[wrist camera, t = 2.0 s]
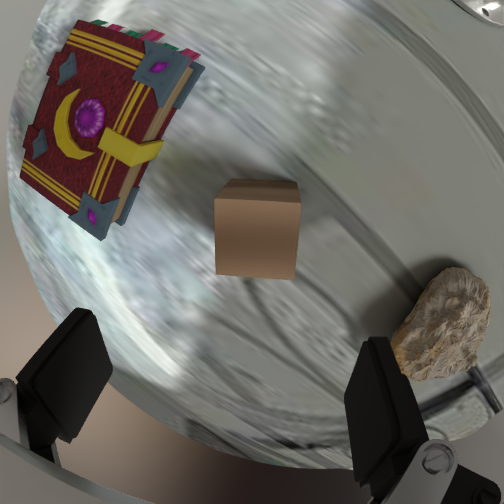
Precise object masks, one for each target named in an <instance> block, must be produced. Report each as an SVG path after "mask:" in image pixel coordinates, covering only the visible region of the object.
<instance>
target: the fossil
mask: <svg viewBox="0 0 504 504" xmlns="http://www.w3.org/2000/svg"><path fill="white" fill-rule="evenodd" d="M490 318H491V308H490V296H489V291H488V287H487V286H486V284H485V283H484V281H483V280H482V279H481V278H478V277H476V276H474V275H472V274H471V273H470V272H469V271H467V270H466V269H464V268H457V267H451V268H446V269H445V270H444V271H441V272H440V274H439V275H437V276H436V277H435V278H433V279H431V280H430V282H429V283H428V285H427V286H426V288H425V289H424V291H423V292H422V294H421V295H420V296H419V299H418V301H417V303H416V305H415V307H414V308H413V310H412V312H411V313H410V314H409V315H408V316H407V317H406V319H405V320H404V321H403V323H402V324H401V326H400V327H399V328H398V329H397V330H396V331H395V332H394V333H393V335H392V339H391V342H390V345H391V347H392V350H393V352H394V355H395V357H396V360H397V363H398V365H399V368H400V370H401V373H402V374H405V375H406V376H407V377H408V378H410V379H412V380H414V381H423V380H428V379H432V378H445V377H447V376H449V375H452V374H455V373H456V372H457V371H459V370H460V371H467V370H468V369H469V368H470V366H475V365H476V363H477V361H478V359H477V356H476V355H475V354H476V352H477V350H478V348H479V346H480V344H481V342H482V341H483V338H484V335H485V331H486V328H487V327H488V324H489V321H490Z"/></svg>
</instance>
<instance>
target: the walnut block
mask: <svg viewBox="0 0 504 504" xmlns="http://www.w3.org/2000/svg"><path fill="white" fill-rule="evenodd" d="M300 214H301V199H300V194H299V190H298V185H297V183H296V182H281V181H264V180H243V179H231V180H230V181H229V182H228V183H227V184H226V186H225V187H224V188H223V189H222V190H221V191H220V192H219V193H218V195H217V196H216V197H215V198H214V226H215V265H216V274H217V275H229V276H242V277H255V278H269V279H283V280H294V276H295V266H296V257H297V247H298V236H299V226H300Z"/></svg>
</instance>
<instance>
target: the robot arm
mask: <svg viewBox="0 0 504 504" xmlns="http://www.w3.org/2000/svg"><path fill="white" fill-rule="evenodd" d="M453 1H455V2H456V3H457V4H458V5H460V6H461V7H462V8H463V9H464V10H466V11H467V12H469V13H470V14H471V15H473V16H474V17H476V18H478V19H480V20H481V21H483V22H485V23H488V24H490V25H493V26H498V27H504V0H453ZM112 371H113V366H112V363H111V361H110V358H109V355H108V352H107V350H106V347H105V344H104V341H103V338H102V335H101V332H100V328H99V325H98V322H97V319H96V316H95V315H93V313H92V311H91V310H88V309H83V308H79V307H78V308H75V309H74V310H73V311H72V312H71V313H70V314H69V316H68V317H67V318H66V319H65V320H64V321H63V322H62V323H61V324H60V325H59V326H58V328H57V329H56V330H55V331H54V332H53V333H52V335H51V336H50V337H49V338H48V339H47V340H46V341H45V342H44V344H43V345H42V346H41V347H40V348H39V349H38V351H37V352H36V353H35V354H34V355H33V357H32V358H31V359H30V360H29V362H28V363H27V364H26V365H25V366H24V368H23V369H22V370H21V371H20V372H19V374H18V375H17V376H16V379H17V381H18V383H17V385H16V384H15V383H14V381H12V380H11V379H8V378H1V379H0V504H155V503H151V502H148V501H144V500H141V499H138V498H135V497H132V496H129V495H126V494H123V493H120V492H117V491H115V490H112V489H109V488H107V487H104V486H102V485H99V484H96V483H94V482H92V481H89V480H87V479H85V478H83V477H80V476H78V475H76V474H74V473H72V472H70V471H68V470H66V469H64V468H62V467H61V464H60V460H59V456H58V452H57V447H56V443H55V440H56V438H57V437H58V438H59V439H61V440H63V441H65V442H67V443H69V444H70V443H71V441H72V439H73V438H76V437H77V435H78V433H79V432H80V430H81V428H82V426H83V424H84V422H85V421H86V419H87V417H88V415H89V413H90V411H91V409H92V408H93V406H94V404H95V402H96V401H97V399H98V397H99V395H100V394H101V392H102V390H103V388H104V386H105V385H106V383H107V381H108V380H109V378H110V376H111V374H112ZM344 404H345V410H346V417H347V423H348V431H349V438H350V445H351V453H352V462H353V470H354V478H355V481H356V482H360V488H361V489H362V488H369V487H370V489H371V496H373V497H372V498H371V499H370V501H369V502H368V503H367V504H504V503H501V502H500V501H501V492H500V489H499V487H498V485H497V484H496V483H494V482H493V481H491V480H489V479H487V478H485V477H483V476H480V475H479V474H477V473H475V472H472V471H471V470H469V469H467V468H465V467H463V466H461V465H459V464H458V454H457V451H456V449H455V448H454V447H453V446H452V444H450V443H449V442H447V441H445V440H442V439H432V440H429V437H428V434H427V431H426V428H425V425H424V422H423V419H422V416H421V413H420V410H419V407H418V404H417V401H416V399H415V396H414V393H413V390H412V388H411V385H410V382H409V380H408V378H407V376H406V375H405V374H402V373H401V370H400V368H399V365H398V363H397V360H396V357H395V355H394V352H393V350H392V347H391V345H390V342H389V340H388V338H387V337H370V338H369V339H368V341H364V342H363V344H362V347H361V350H360V353H359V356H358V358H357V361H356V364H355V367H354V370H353V372H352V375H351V378H350V380H349V383H348V386H347V388H346V391H345V394H344Z"/></svg>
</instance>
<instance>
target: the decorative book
mask: <svg viewBox="0 0 504 504" xmlns="http://www.w3.org/2000/svg"><path fill="white" fill-rule="evenodd" d="M106 23H108V22H105V21H101V20H95V21H92V22H90V23H89V22H86V21H82V20H78V21H77V22H76V24H75V26H74V28H73V30H72V31H71V33H70V35H69V37H68V39H67V41H66V43H65V45H64V47H63V49H62V51H61V52H56V54H55V56H54V58H53V60H52V62H51V65H50V67H49V69H48V72H47V74H46V75H48V76H50V78H49V80H48V83H47V85H46V88H45V90H44V93H43V96H42V98H41V101H40V104H39V107H38V110H37V113H36V116H35V119H34V122H33V124H32V125H28V128H27V131H26V135H25V139H24V143H23V146H22V147H23V148H25V149H26V151H25V155H24V159H23V163H22V168H21V173H20V178H21V179H22V180H23V181H25V182H26V183H27V184H28V185H30V186H31V187H32V188H33V189H35V190H36V191H37V192H39V193H40V194H41V195H43V196H44V197H45V198H47V199H48V200H49V201H51V202H52V203H53V204H55V205H56V206H57V207H59V208H60V209H61V210H63V211H64V212H65V213H67V214H68V215H69V217H68V218H69V219H71V220H72V221H73V222H75V223H76V224H77V225H79V226H80V227H82V228H83V229H84V230H86V231H87V232H89V233H90V234H91V235H93V236H94V237H96V238H97V239H98V240H100V241H102V240H103V239H105V238H106V235H107V232H108V229H109V226H110V224H111V223H113V222H116V223H117V224H119V225H120V226H122V225H123V224H125V222H126V219H127V217H128V214H129V212H130V209H131V207H132V204H133V202H134V200H135V197H136V195H137V193H138V190H139V188H140V187H138V185H139V183H140V181H141V178H142V176H143V174H144V172H145V170H146V168H147V166H148V164H149V161H150V160H152V159H155V158H156V157H157V155H158V153H159V151H160V149H161V147H162V145H163V143H164V141H163V140H161V138H162V136H163V134H164V132H165V130H166V128H167V126H168V124H169V123H170V121H171V119H172V117H173V115H174V113H175V112H176V110H177V109H180V108H181V106H182V104H183V103H184V101H185V99H186V98H187V96H188V94H189V93H190V91H191V89H192V88H193V86H194V85H195V83H196V81H197V80H198V78H199V77H200V75H201V74H202V72H203V71H204V69H205V67H204V66H202V65H200V64H198V63H196V62H194V61H193V60H195V59H197V58H198V57H199V56H200V55H201V54H199V53H196V52H194V51H192V50H190V49H186V50H185V51H183V52H182V53H179V52H177V51H176V50H178V49H179V48H176V47H174V46H172V45H169V44H167V43H165V44H163V45H160V44H157V43H155V41H157V40H159V39H160V38H161V37H162V36H164V35H165V34H163V33H161V32H158V31H156V30H153V29H152V30H150V31H149V32H148V33H147V34H145V35H143V36H141V35H142V34H139V33H137V32H134V31H131V30H130V31H128V32H127V33H126V34H124V33H121V32H118V31H120V30H121V29H122V28H125V27H122V26H119V25H115V24H111V25H110V26H109V27H107V28H106V27H103V26H101V25H103V24H106ZM140 36H141V37H140ZM138 37H139V38H138Z"/></svg>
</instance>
